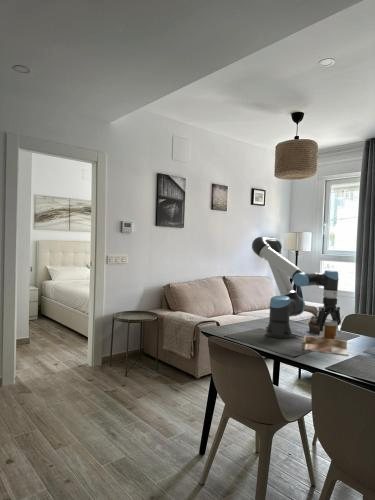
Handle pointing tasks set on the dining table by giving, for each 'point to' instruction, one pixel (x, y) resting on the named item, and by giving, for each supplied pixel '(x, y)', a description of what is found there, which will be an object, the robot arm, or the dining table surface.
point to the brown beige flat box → (325, 345)
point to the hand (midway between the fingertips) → (328, 336)
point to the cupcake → (314, 325)
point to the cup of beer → (330, 329)
